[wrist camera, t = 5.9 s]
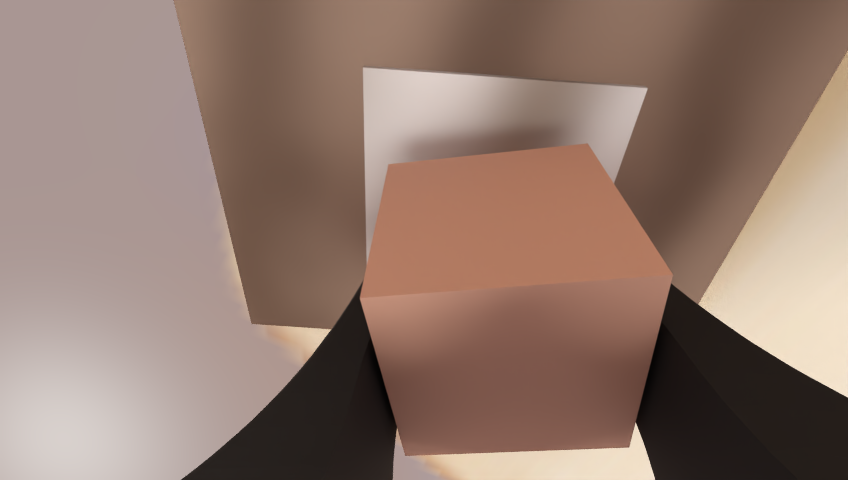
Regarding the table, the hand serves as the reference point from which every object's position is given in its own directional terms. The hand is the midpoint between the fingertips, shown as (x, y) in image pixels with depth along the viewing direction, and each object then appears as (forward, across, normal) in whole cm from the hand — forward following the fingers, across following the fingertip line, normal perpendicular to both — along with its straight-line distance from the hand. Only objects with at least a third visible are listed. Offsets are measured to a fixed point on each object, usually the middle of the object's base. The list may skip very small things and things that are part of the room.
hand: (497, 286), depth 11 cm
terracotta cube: (+2, 0, 0) cm, 2 cm away
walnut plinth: (+7, 0, 0) cm, 7 cm away
